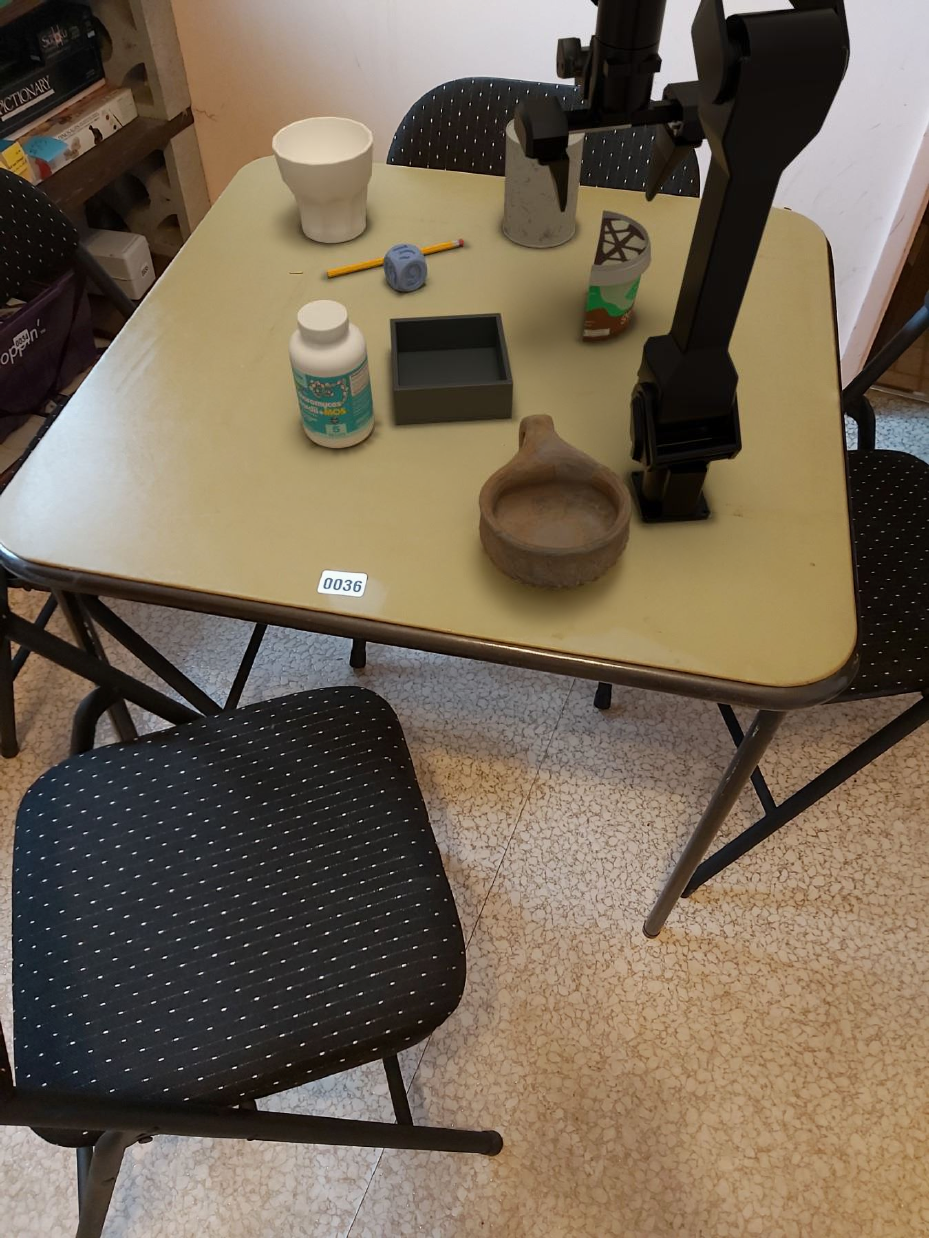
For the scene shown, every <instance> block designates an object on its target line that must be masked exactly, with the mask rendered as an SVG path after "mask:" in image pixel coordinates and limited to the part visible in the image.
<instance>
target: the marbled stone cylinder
mask: <svg viewBox="0 0 929 1238" xmlns="http://www.w3.org/2000/svg"><path fill="white" fill-rule="evenodd" d="M505 133H506V135H505V164H504V165H505V166H504V167H505V169H504V194H503V195H504V199H503V200H504V201H503V224H502V232H503V233H504V235H505V237H506V238H507V239H508V240H510V241H511V242H513V243H515V244H517V245H520V246H522V247H526V248H534V249H547V248H548V249H549V248H555V247H558V246H561V245H563V244H565V243H567V242H568V241H570V240H571V239H572V238H573V236H574V235H575V232H576V216H577V208H578V199H579V198H578V197H579V190H580V189H579V188H580V178H581V169H582V159H583V150H584V139H585V135H586V133H580V134H571V135H569V142H568V148H567V149H566V152H567V154H568V156H569V158H570V164H569V179H568V196H567V204H566V208H565V212H561V211H560V209H559V206H558V202H557V198H556V194H555V190H554V186H553V182H552V178H551V174H550V170H549V167H548V166H541V165H539V164H538V162H537V160H536V159H530V158H527V157H525V155H524V152H523V150H522V147H521V145H520V143H519V140H518V138H517V135H516V133H515V130H514V118H513V119H511V120H510V121H509V123H507V124H506V127H505Z"/></svg>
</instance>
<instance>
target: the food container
mask: <svg viewBox="0 0 929 1238" xmlns="http://www.w3.org/2000/svg"><path fill="white" fill-rule="evenodd" d="M651 262H652V243H651V239H650V236H649V233H648V230H647V229H646V228H645V227H644V225H642V224H641V223H640V222H638V221H637V220H635V219H634V218H632V217H630V216H628V215H626V214H623V213H619V212H617V211H611V210H604V209H603V210H602V216H601V223H600V229H599V236H598V242H597V246H596V251H595V255H594V261H593V264H591V266H590V267H591V268H590V275H589V282H588V293H587V302H586V309H585V318H584V326H583V334H582V342H588V343H595V342H605V341H608V340H611V339H615V338H617V337H619V336H620V335H621V334H623V333H624V332H625V331H627V329H628V327H629V325H630V321H631V318H632V314H633V310H634V306H635V301H636V298H637V294H638V291H639V286H640V283H641V279H642V275H643V274H644V273H645V272H646V271H648V269H649V267H650V266H651Z"/></svg>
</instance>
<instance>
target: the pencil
mask: <svg viewBox="0 0 929 1238" xmlns="http://www.w3.org/2000/svg"><path fill="white" fill-rule="evenodd" d="M464 245H465V242H464V239H463V238H459V239H455V240H451V241H447V242H442V243H438V244H434V245H433V244H432V245H430V246H426V247H421V248H419V249H420V250H421V252H422V254H423V255H429V254H433V253H438V252H441V251H446V250H450V249H454V248H458V247H463V246H464ZM384 257H385V256H383V257H380V258H375V259H371V260H367V261H362V262H359V263H355V264H350V265H346V266H341V267H338V268H332V269H328V270H326V275H327V278H333V277H337V276H341V275H345V274H349V273H354V272H358V271H363V270H366V269H371V268H375V267H379V266H383V260H384Z"/></svg>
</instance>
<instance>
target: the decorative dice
mask: <svg viewBox="0 0 929 1238" xmlns="http://www.w3.org/2000/svg"><path fill="white" fill-rule="evenodd" d="M420 249H421V248H419V247H418V246H416V245H414V244H411V243H400V244H396V245H393V246H392V247H390V248H389V249H388V250H387V252H386V253H385V255H384V256H383V257H384V260H383V265H382V266H383V267H382V268H383V272H384V275H385V278H386V280H387V282H388V284H389V285H390V286H391V287H392V289H394V290H396V291H398V292H403V293H408V292H413V291H416V290H418V289H419V288H420V287H421V286H422V285H424V282H425V281H426V279H427V276H428V264H427V261H426V258H425V256H424V255H423V254H422V252H421V250H420Z"/></svg>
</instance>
